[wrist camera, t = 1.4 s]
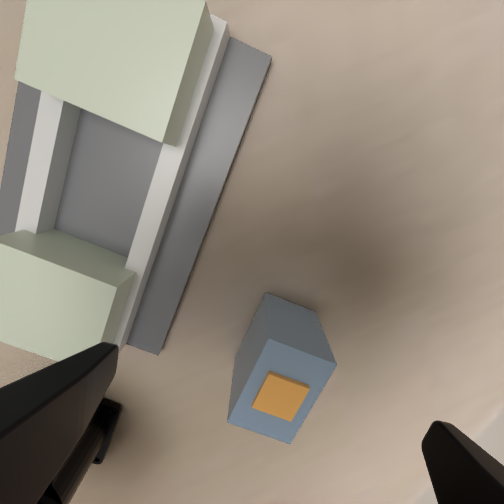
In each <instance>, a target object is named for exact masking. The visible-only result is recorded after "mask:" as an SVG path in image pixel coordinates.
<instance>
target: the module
mask: <svg viewBox="0 0 504 504" xmlns="http://www.w3.org/2000/svg"><path fill="white" fill-rule="evenodd" d="M336 366H337V363H336V361H335V358H334V356H333V353H332V351H331V349H330V346H329V344H328V341H327V339H326V336H325V334H324V331H323V329H322V326H321V324H320V322H319V319H318V317H317V314H316V312H314V311H312V310H309V309H307V308H304V307H302V306H299V305H297V304H294V303H292V302H289V301H287V300H284V299H281V298H279V297H276V296H274V295H271V294H269V293H265V295H264V297H263V299H262V301H261V303H260V306H259V308H258V310H257V312H256V314H255V316H254V318H253V320H252V323H251V325H250V327H249V329H248V331H247V333H246V335H245V338H244V340H243V342H242V344H241V346H240V348H239V350H238V353H237V355H236V357H235V362H234V370H233V378H232V386H231V395H230V403H229V411H228V419H227V422H228V423H231V424H233V425H236V426H239V427H242V428H245V429H248V430H251V431H254V432H256V433H259V434H262V435H265V436H268V437H271V438H274V439H276V440H279V441H282V442H285V443H288V444H291V442H292V440H293V438H294V437H295V435H296V433H297V432H298V430H299V428H300V427H301V425H302V423H303V422H304V420H305V418H306V416H307V415H308V413H309V411H310V410H311V408H312V406H313V405H314V403H315V401H316V399H317V398H318V396H319V394H320V393H321V391H322V389H323V388H324V386H325V384H326V382H327V381H328V379H329V377H330V376H331V374H332V372H333V371H334V369H335V367H336Z"/></svg>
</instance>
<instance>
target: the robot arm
mask: <svg viewBox="0 0 504 504" xmlns="http://www.w3.org/2000/svg"><path fill="white" fill-rule="evenodd" d="M118 352H119V347H118V345H117V344H113V343H109V342H101V343H98V344H96V345H94V346H92V347H90V348H87V349H85V350H83V351H81V352H79V353H76V354H74V355H72V356H70V357H68V358H65V359H63V360H61V361H59V362H57V363H54V364H52V365H50V366H48V367H45V368H43V369H41V370H39V371H37V372H34V373H32V374H30V375H28V376H26V377H23V378H21V379H19V380H17V381H15V382H12V383H10V384H8V385H6V386H4V387H1V388H0V504H69V502H70V501H71V499H72V497H73V495H74V493H75V492H76V490H77V488H78V486H79V485H80V483H81V481H82V479H83V478H84V476H85V474H86V472H87V471H88V469H89V467H90V465H91V464H92V463H94V464H101V463H102V462H103V460H104V458H105V455H106V453H107V450H108V447H109V444H110V442H111V439H112V436H113V433H114V431H115V428H116V425H117V422H118V419H119V417H120V414H121V411H122V408H121V406H120V405H118V404H116V403H113V402H110V401H107V400H104V399H102V398H103V396H104V394H105V393H106V391H107V389H108V387H109V385H110V383H111V381H112V380H113V378H114V375H115V373H116V368H117V360H118ZM114 410H115V411H114ZM422 452H423V455H424V459H425V462H426V465H427V469H428V472H429V475H430V478H431V482H432V485H433V488H434V492H435V495H436V498H437V502H438V504H504V466H503V465H502V464H501V463H499V462H498V461H497V460H496V459H494V458H493V457H492V456H491V455H489V454H488V453H487V452H486V451H485V450H483V449H482V448H481V447H480V446H478V445H477V444H476V443H475V442H474V441H472V440H471V439H470V438H469V437H467V436H466V435H465V434H464V433H462V432H461V431H460V430H459V429H457V428H456V427H455V426H454V425H452V424H450V423H447V422H443V421H434V422H433V423H432V424H431V426H430V428H429V430H428V431H427V433H426V435H425V437H424V438H423V440H422Z"/></svg>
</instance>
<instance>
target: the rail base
mask: <svg viewBox="0 0 504 504" xmlns="http://www.w3.org/2000/svg"><path fill="white" fill-rule="evenodd" d="M271 60H272V56H270V55H268V54H266V53H264V52H262V51H260V50H257V49H255V48H253V47H251V46H249V45H247V44H245V43H243V42H241V41H239V40H236V39H234V38H232V37H230V33H229V29H228V24H227V22H226V21H224V20H222V19H220V18H218V17H216V16H214V15H211V14H210V13H209V10H208V7H207V4H206V1H204V0H27V4H26V10H25V16H24V22H23V28H22V34H21V40H20V47H19V53H18V59H17V65H16V71H15V77H14V79H15V80H18V87H17V93H16V99H15V105H14V111H13V117H12V123H11V129H10V135H9V141H8V147H7V153H6V159H5V165H4V171H3V177H2V183H1V189H0V342H3V343H6V344H9V345H12V346H15V347H18V348H20V349H23V350H26V351H29V352H32V353H35V354H38V355H41V356H43V357H46V358H49V359H52V360H55V361H58V362H59V361H61V360H63V359H65V358H68V357H70V356H72V355H74V354H76V353H79V352H81V351H83V350H85V349H87V348H90V347H92V346H94V345H96V344H98V343H101V342H109V343H113V344H117V345H118V347H119V352H118V354H119V353H120V351H121V350H122V349H123V347H124V346H125V345H126V344H128V345H131V346H134V347H136V348H139V349H142V350H145V351H147V352H150V353H153V354H156V355H159V353H160V351H161V350H162V347H163V345H164V342H165V339H166V337H167V334H168V331H169V329H170V326H171V324H172V321H173V318H174V316H175V313H176V310H177V308H178V305H179V303H180V300H181V297H182V295H183V292H184V289H185V287H186V284H187V282H188V279H189V276H190V274H191V271H192V268H193V266H194V263H195V261H196V258H197V255H198V253H199V250H200V247H201V245H202V242H203V240H204V237H205V234H206V232H207V229H208V226H209V224H210V221H211V219H212V216H213V213H214V211H215V208H216V205H217V203H218V200H219V198H220V195H221V192H222V190H223V187H224V184H225V182H226V179H227V177H228V174H229V171H230V169H231V166H232V163H233V161H234V158H235V156H236V153H237V150H238V148H239V145H240V142H241V140H242V137H243V135H244V132H245V129H246V127H247V124H248V121H249V119H250V116H251V114H252V111H253V108H254V106H255V103H256V100H257V98H258V95H259V93H260V90H261V87H262V85H263V82H264V79H265V77H266V74H267V72H268V69H269V66H270V64H271Z"/></svg>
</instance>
